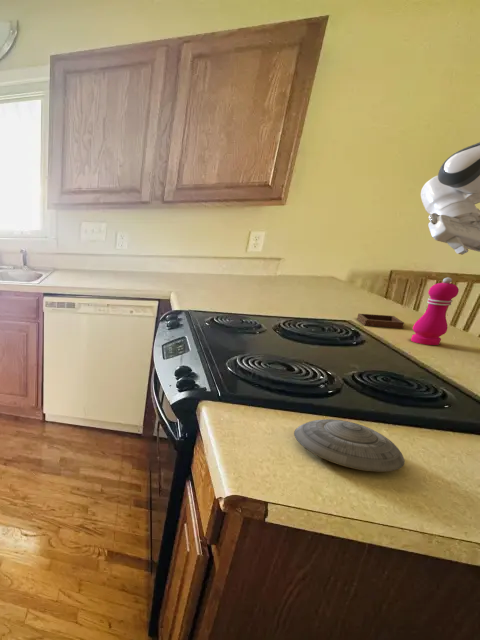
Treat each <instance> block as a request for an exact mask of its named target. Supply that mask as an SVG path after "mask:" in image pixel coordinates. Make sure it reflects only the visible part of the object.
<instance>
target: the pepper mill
mask: <svg viewBox="0 0 480 640" xmlns="http://www.w3.org/2000/svg"><path fill="white" fill-rule="evenodd" d="M452 281H453V278H451V277H445V278H443V279H442V282H438V283H434V284H433V285H432V286H430V288H429V289H428V291H427V293H428V296H429V298H427V301H426V303H427V304H428V305H427V307H426V310H425V311H424V313H423V314H422V315H421V317H419V319H417V320H416V321H415V323H414V324H413V326H412V330H413V332H414V334H412V335H411V338H410V341H411V342H413V343H415V344H420V345H427V346H438V345H440V343H441V341H442V338H441V337H442V336H444V335H445V334H446V333H447V331H448V322H447V317H446V316H447V311H448V308H449V306H451V305H452V302H453V300H452V299H454V298H456V297H457V296H458V294H459V293H460V292H459V290H460V289H459V287H458V286H457V285H456V284H454V283H452Z"/></svg>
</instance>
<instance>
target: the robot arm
mask: <svg viewBox="0 0 480 640" xmlns="http://www.w3.org/2000/svg"><path fill="white" fill-rule="evenodd" d="M420 199H421V202H422V205H423V207H424V210H425V212H426V213H427V214H429V215H428V216H427V217H428V220H429V222H428V224H427V227H428V231H429V233H430V235H431V238H432V239H434V240H435V241H437V242H441V243H444V244H447V245H448V246H450V248H452V249H453V250H454V252H455V253H456V254H457V255H460V256H461V255H465V254H467V253H469V250H471V251H475V252H478V253H480V208H478V207H477V204H479V203H480V141H479V142H476V143H474V144H471V145H469V146H466V147H463V148H462V149H460V150H457V151H455V152H454V153H453V154H451V155H450V156H449V157H447V158H446V159H445V160H444V162H443V163H442V164H441V166H440V168H439V169H438V173H437V175H435V176H433V177H431V178H430V179H429V180H427V181H426V182H425V183H424V184H423V186H422V188H421V190H420Z"/></svg>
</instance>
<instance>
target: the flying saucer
mask: <svg viewBox="0 0 480 640" xmlns="http://www.w3.org/2000/svg"><path fill="white" fill-rule="evenodd" d="M293 436H294V438H295V440H296V442H298V444H299V445H300V446H302V447H303V448H304V449H306V451H308V452H310V453H312V454H314V455H315V456H316V457H319V458H321V459H322V460H325V461H329V462H331V463H333V464H336V465H339V466H343V467H346V468H351V469H355V470H358V471H359V470H360V471H365V472H375V473H376V472H378V473H380V472H382V473H383V472H393V471H397V470H399V469H401V468H402V467H404V466H405V462H406V461H405V460H406V459H405V458H404V455H403V453H402V452H401V450H400V449H399V448H398V446H397V445H396V444H395V442H393V441H392V440H390V439H389V438H388V437H387V436H385V435H383V434H381V433H380V432H378V431H376V430H374V429H372V428H370V427H368V426H364V425H362V424H359V423H356V422H352V421H347V420H342V419H333V418H332V419H329V418H328V419H315V420H310V421H308V422H305V423H303V424H301V425H299V426H298V427H296V428H295V429H294V432H293Z"/></svg>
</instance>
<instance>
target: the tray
mask: <svg viewBox="0 0 480 640" xmlns="http://www.w3.org/2000/svg"><path fill="white" fill-rule="evenodd" d="M356 320H357V321H358V322H359V323H361V324H362V325H363V326H365V327H376V328H377V327H378V328H388V329H389V328H390V329H391V328H392V329H403V328H404V324H405V322H404V321H402V320H401V319H399V318H398V317H396V316H395V315H389V314H388V315H386V314H370V313H358V314H357V317H356Z"/></svg>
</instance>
